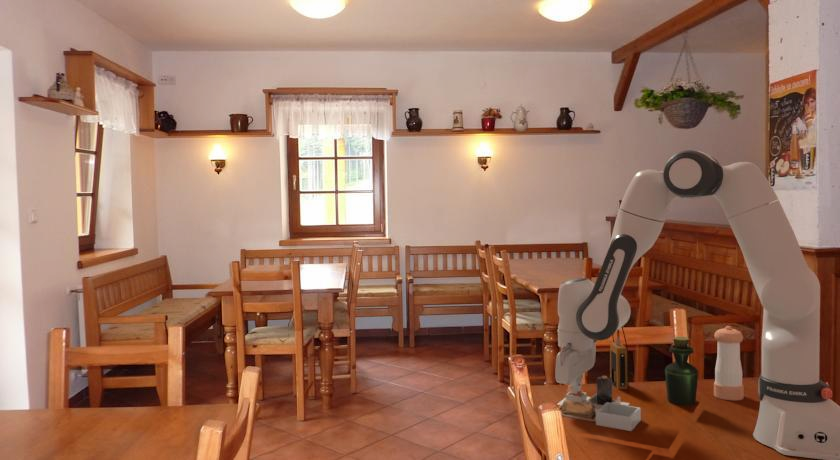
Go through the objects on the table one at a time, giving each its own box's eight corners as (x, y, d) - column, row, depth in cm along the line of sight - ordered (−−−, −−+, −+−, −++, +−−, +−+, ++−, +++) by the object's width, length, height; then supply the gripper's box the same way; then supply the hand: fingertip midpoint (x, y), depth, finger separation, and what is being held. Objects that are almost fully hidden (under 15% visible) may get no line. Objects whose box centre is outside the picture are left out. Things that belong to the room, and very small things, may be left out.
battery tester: (629, 408, 164) (629, 395, 164) (618, 420, 156) (618, 406, 156) (570, 399, 173) (570, 386, 173) (556, 410, 165) (556, 396, 165)
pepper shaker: (708, 393, 175) (708, 324, 174) (733, 391, 176) (733, 323, 175) (723, 401, 168) (723, 329, 167) (749, 399, 169) (749, 328, 168)
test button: (583, 398, 167) (583, 391, 167) (579, 401, 165) (579, 394, 165) (573, 396, 169) (572, 389, 169) (569, 399, 166) (569, 392, 166)
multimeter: (658, 398, 172) (657, 325, 171) (621, 398, 172) (620, 326, 171) (640, 382, 187) (640, 315, 186) (606, 383, 187) (605, 315, 186)
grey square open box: (640, 426, 152) (640, 407, 152) (631, 437, 145) (631, 418, 145) (606, 420, 157) (606, 402, 156) (595, 430, 150) (595, 412, 150)
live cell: (594, 417, 157) (594, 402, 157) (589, 422, 154) (589, 406, 154) (565, 412, 161) (565, 397, 161) (559, 416, 158) (559, 401, 158)
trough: (603, 419, 157) (603, 412, 157) (595, 427, 152) (595, 420, 152) (560, 411, 163) (560, 405, 163) (551, 419, 158) (550, 412, 158)
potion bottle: (669, 400, 170) (668, 333, 169) (701, 405, 166) (701, 336, 165) (661, 408, 164) (660, 339, 163) (694, 414, 159) (694, 343, 158)
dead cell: (614, 404, 163) (613, 375, 163) (609, 409, 160) (609, 379, 160) (599, 402, 165) (599, 373, 165) (594, 406, 162) (594, 377, 162)
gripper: (572, 349, 156) (573, 405, 156) (599, 333, 173) (600, 383, 173) (548, 346, 159) (549, 401, 160) (577, 331, 176) (577, 380, 177)
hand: (575, 391), depth 167 cm, fingers closed, pressing on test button
